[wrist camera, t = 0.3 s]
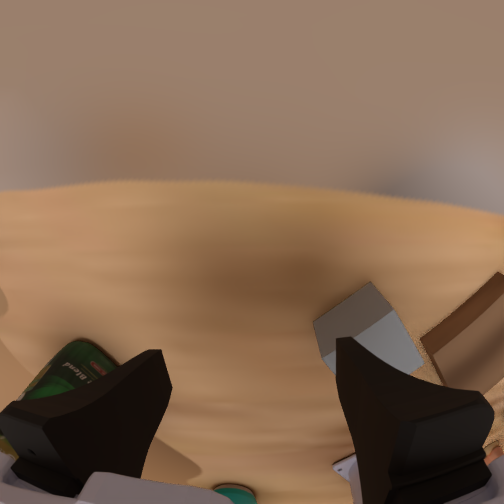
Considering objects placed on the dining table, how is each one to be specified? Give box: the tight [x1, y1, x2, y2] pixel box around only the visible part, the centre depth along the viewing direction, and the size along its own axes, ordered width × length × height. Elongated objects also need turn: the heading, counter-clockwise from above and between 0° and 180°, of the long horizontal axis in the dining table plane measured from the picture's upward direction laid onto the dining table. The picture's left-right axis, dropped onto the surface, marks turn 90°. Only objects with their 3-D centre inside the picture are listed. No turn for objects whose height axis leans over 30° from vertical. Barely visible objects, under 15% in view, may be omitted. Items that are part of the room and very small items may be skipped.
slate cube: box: [313, 282, 425, 375], centre depth 19 cm, size 5×5×5 cm
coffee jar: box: [0, 341, 118, 461], centre depth 16 cm, size 10×8×19 cm
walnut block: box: [420, 272, 504, 395], centre depth 20 cm, size 9×9×3 cm
